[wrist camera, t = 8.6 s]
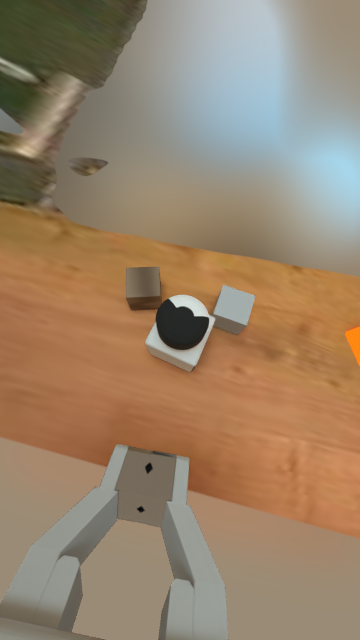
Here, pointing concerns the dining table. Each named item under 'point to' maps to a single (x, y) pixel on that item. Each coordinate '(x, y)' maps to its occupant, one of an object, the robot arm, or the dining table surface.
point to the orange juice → (354, 341)
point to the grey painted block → (232, 309)
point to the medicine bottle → (180, 331)
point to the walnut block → (143, 288)
